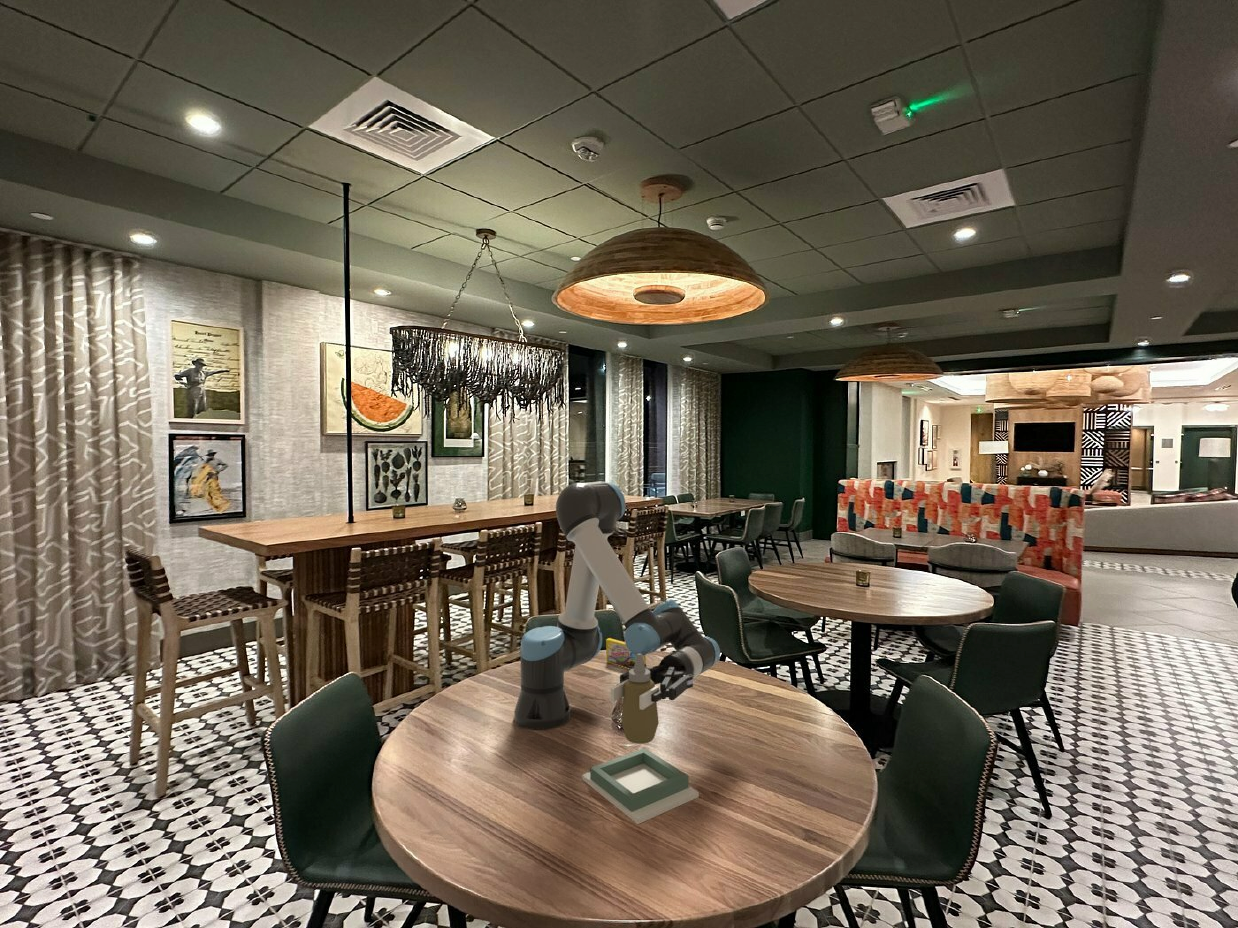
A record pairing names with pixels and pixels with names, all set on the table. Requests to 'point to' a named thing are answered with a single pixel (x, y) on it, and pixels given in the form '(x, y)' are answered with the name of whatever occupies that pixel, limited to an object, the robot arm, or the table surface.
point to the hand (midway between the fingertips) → (626, 698)
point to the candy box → (620, 654)
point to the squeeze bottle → (635, 720)
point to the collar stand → (641, 784)
